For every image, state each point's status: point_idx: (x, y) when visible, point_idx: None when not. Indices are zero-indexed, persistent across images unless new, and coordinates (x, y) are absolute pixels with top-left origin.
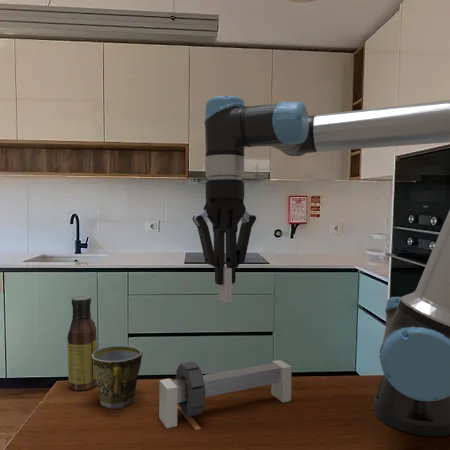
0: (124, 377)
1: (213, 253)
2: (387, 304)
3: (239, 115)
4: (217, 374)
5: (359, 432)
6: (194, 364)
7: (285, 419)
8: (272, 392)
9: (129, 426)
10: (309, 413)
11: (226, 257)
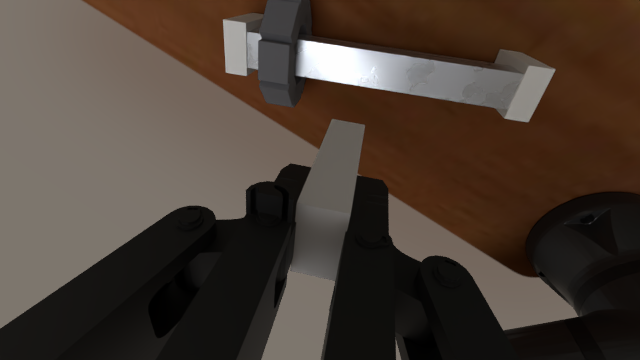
0: None
1: (165, 341)
2: None
3: None
4: (353, 57)
5: (480, 217)
6: (283, 65)
7: (430, 139)
8: (500, 54)
9: (200, 14)
10: (479, 147)
11: (336, 283)
